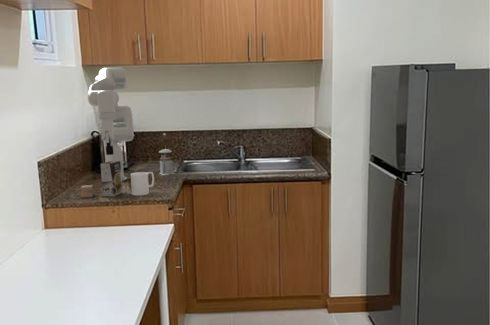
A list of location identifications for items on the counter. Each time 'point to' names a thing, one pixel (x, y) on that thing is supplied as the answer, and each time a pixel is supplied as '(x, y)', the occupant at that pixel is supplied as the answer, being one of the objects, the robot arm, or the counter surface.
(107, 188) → the coffee box
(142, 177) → the cup
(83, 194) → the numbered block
